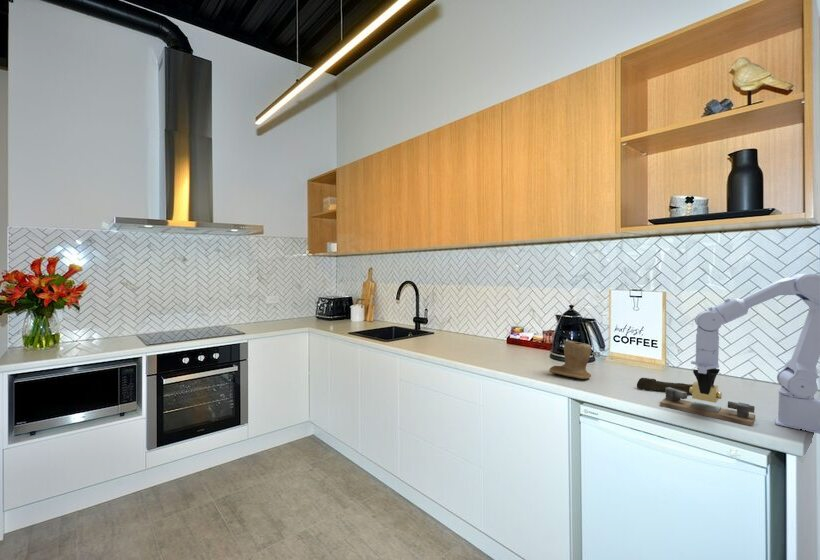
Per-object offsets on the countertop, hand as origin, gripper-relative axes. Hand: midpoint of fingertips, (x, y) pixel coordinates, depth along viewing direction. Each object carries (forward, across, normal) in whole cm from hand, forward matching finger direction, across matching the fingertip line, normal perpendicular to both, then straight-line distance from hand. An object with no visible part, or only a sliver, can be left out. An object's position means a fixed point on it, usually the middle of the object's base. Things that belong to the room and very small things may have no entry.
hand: (705, 392), depth 123 cm
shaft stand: (+6, 0, 0) cm, 6 cm away
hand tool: (+7, -15, -14) cm, 21 cm away
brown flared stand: (+7, -10, -47) cm, 49 cm away
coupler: (+2, 0, 0) cm, 2 cm away
